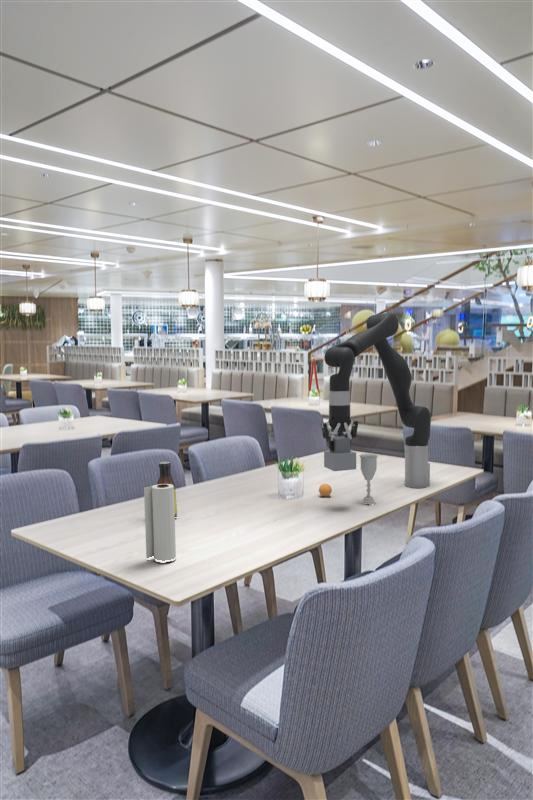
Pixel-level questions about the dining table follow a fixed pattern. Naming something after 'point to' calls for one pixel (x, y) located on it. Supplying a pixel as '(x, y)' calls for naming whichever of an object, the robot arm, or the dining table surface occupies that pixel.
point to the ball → (325, 490)
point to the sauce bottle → (167, 479)
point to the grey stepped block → (340, 455)
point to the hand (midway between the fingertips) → (339, 450)
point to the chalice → (368, 473)
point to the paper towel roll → (160, 521)
